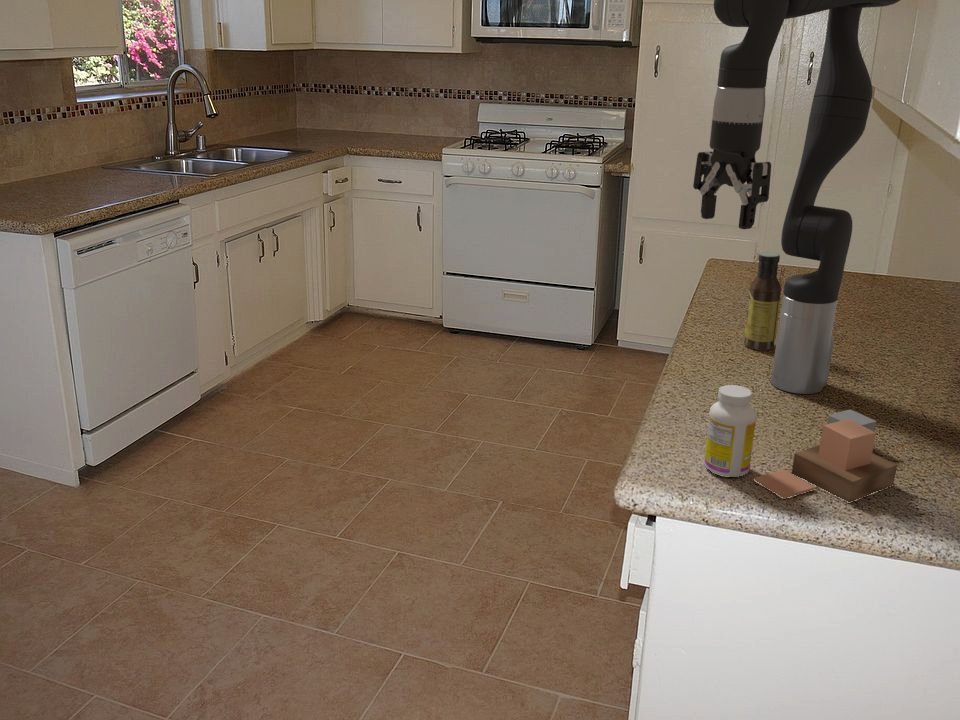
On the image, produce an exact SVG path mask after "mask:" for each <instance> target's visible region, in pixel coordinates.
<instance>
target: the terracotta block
mask: <svg viewBox="0 0 960 720" xmlns="http://www.w3.org/2000/svg"><path fill="white" fill-rule="evenodd" d="M876 435H877V432H875V431H872V430H870V429H868V428H866V427H864V426H862V425H860V424H858V423H856V422H854V421H851V420H849V419H847V420H843V421H838V422H834V423H830V424H827V423H826V424H823V425H822V431H821V438H820V443H819V445H820V448H819V454H818V456H819V457H821V458H823V459H825V460H827V461H828V462H830V463H832V464H834V465H836V466H837V467H839V468H841V469H843V470H849V469H853V468H856V467H860V466H864V465H868V464H870V462H871V457H872V454H873V451H874V446H875V440H876V437H877V436H876Z"/></svg>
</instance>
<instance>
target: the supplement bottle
mask: <svg viewBox="0 0 960 720" xmlns="http://www.w3.org/2000/svg"><path fill="white" fill-rule="evenodd" d="M752 395H753V392H752V390H750V389H749V388H747V387H745V386H742V385H741V386H740V385H736V384H735V385H733V384H727V385H726V384H725V385H722V386H721V387H719V389H718V394H717V399H718V401H717V402H715V403H713V404H712V405H711V407H710V409H709V414H708V425H707V433H706V443H705V452H704V462H703V463H704V467H705V466H706V467H707V468H708V469H709V470H710V471H712V472H714V473H717V474H720V475H724V476H729V477H738V476H742V477H744V476H746V475H747V474H748V473H749V472H750V468H751V461H752V453H753V444H754V436H755V429H756V421H757V412H756V410H755V408H753V407H752V406H751V405H750V404H751V402H752V398H753V397H752ZM706 467H705V468H706ZM710 471H709V472H710ZM745 474H746V475H745ZM743 475H744V476H743ZM738 478H739V477H738Z"/></svg>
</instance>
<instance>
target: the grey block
mask: <svg viewBox="0 0 960 720" xmlns="http://www.w3.org/2000/svg"><path fill="white" fill-rule="evenodd" d="M847 419H849V420H851V421H854V422H856V423H858V424H860V425H862V426H864V427H866V428H868V429H870V430H872V431H874V432H875V430H876V425H877V420H875V419H872V418H870V417H868V416H866V415H863V414H862V413H859V412H857V411H855V410H853V409H847V410H843V411H840V412H835V413H832V414H828V417H827V421H826V424H830V423H834V422H838V421H843V420H847Z"/></svg>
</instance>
